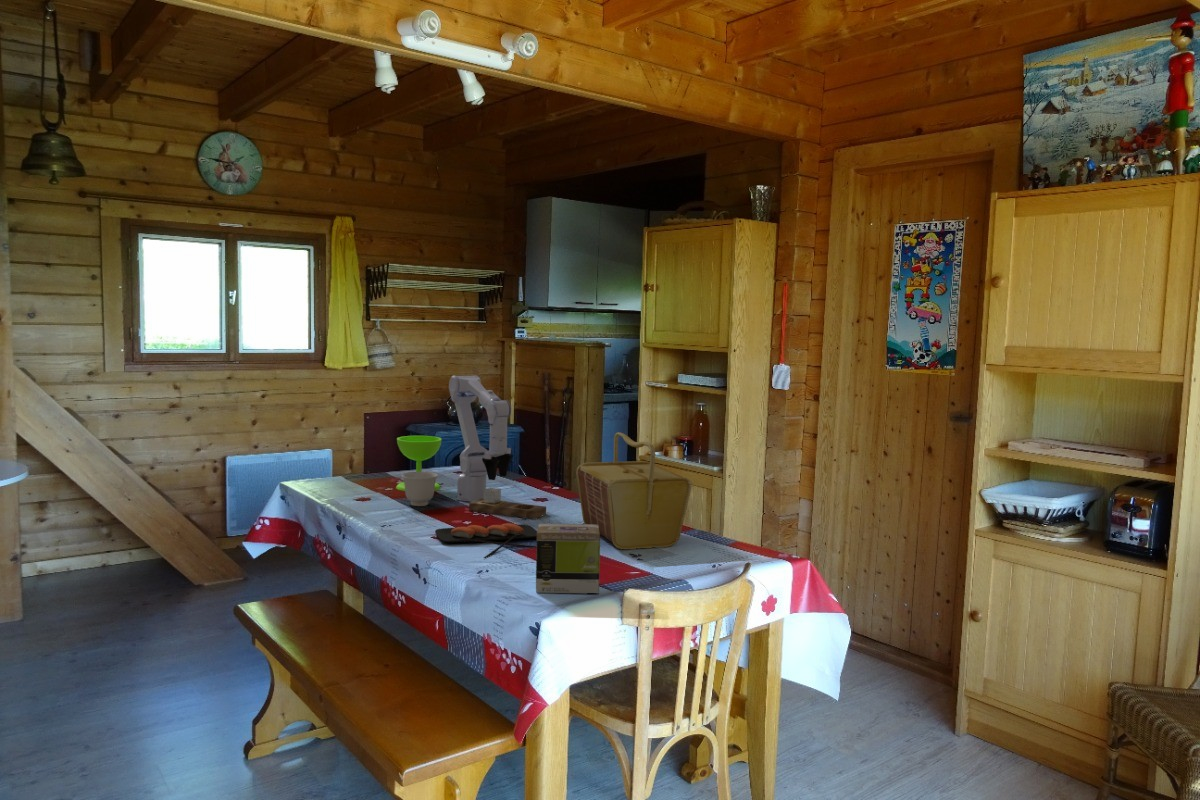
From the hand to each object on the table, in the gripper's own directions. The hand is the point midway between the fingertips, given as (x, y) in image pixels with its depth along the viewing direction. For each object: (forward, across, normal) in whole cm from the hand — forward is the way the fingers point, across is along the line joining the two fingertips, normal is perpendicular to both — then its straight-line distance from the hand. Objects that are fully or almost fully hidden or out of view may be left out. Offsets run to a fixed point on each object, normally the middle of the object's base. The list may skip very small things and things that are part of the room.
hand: (497, 477), depth 286 cm
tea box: (+12, -65, -54) cm, 85 cm away
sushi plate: (+12, -39, -20) cm, 45 cm away
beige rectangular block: (+10, -3, 0) cm, 11 cm away
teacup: (+10, -6, +26) cm, 28 cm away
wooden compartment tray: (+10, -3, -5) cm, 12 cm away
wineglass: (+10, +16, +41) cm, 45 cm away
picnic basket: (+11, -13, -52) cm, 54 cm away
